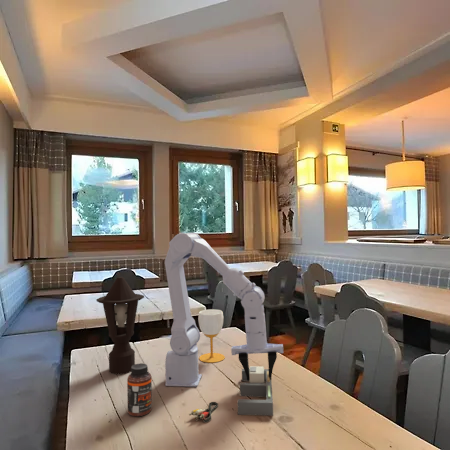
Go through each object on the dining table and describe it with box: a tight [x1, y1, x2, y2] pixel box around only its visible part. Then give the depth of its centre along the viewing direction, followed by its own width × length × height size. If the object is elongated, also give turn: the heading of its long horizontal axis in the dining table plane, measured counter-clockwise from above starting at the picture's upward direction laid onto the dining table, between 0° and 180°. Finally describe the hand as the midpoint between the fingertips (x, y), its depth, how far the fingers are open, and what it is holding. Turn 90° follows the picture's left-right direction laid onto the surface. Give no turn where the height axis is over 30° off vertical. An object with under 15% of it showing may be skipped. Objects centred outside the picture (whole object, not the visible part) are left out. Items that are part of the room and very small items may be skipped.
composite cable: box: [188, 401, 219, 423], centre depth 88 cm, size 10×5×2 cm, turn 146°
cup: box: [197, 308, 226, 364], centre depth 125 cm, size 9×9×16 cm
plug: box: [249, 365, 265, 383], centre depth 101 cm, size 4×5×5 cm
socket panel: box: [237, 368, 274, 416], centre depth 97 cm, size 8×20×3 cm, turn 174°
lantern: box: [95, 276, 145, 375], centre depth 117 cm, size 15×15×30 cm
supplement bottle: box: [126, 362, 153, 417], centre depth 90 cm, size 6×6×11 cm
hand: (259, 379), depth 101 cm, fingers open, 5 cm apart
